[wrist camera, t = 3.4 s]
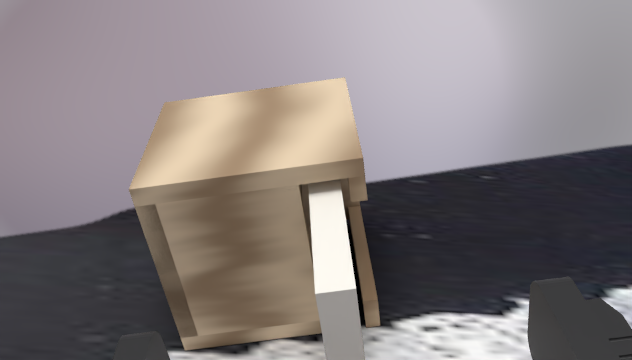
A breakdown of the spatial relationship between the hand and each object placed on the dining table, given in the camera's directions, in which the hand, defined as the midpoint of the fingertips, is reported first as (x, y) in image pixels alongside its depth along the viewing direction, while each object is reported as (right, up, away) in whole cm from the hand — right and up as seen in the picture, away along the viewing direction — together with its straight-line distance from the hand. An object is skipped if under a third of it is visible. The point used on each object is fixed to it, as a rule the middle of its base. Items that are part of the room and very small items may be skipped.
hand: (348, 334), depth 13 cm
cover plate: (+1, -6, +20) cm, 21 cm away
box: (-3, -3, +25) cm, 26 cm away
